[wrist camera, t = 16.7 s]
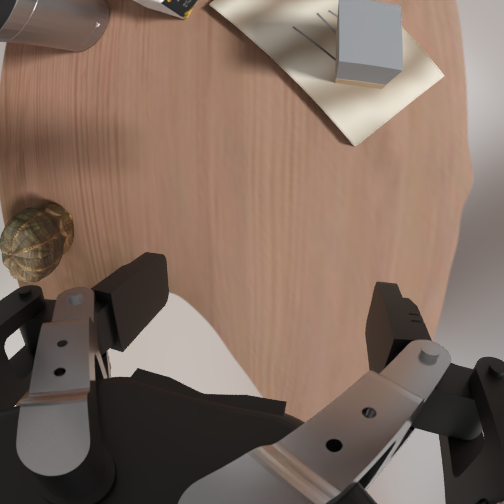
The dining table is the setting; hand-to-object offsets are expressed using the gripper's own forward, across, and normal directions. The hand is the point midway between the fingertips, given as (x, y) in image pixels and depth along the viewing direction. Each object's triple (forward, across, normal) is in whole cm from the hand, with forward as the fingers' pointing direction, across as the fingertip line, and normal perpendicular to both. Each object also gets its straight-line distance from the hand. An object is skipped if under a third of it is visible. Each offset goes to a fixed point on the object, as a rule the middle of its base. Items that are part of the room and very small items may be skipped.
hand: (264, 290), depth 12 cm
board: (+26, -1, -18) cm, 32 cm away
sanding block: (+24, -5, -15) cm, 29 cm away
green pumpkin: (+26, +39, +9) cm, 48 cm away
